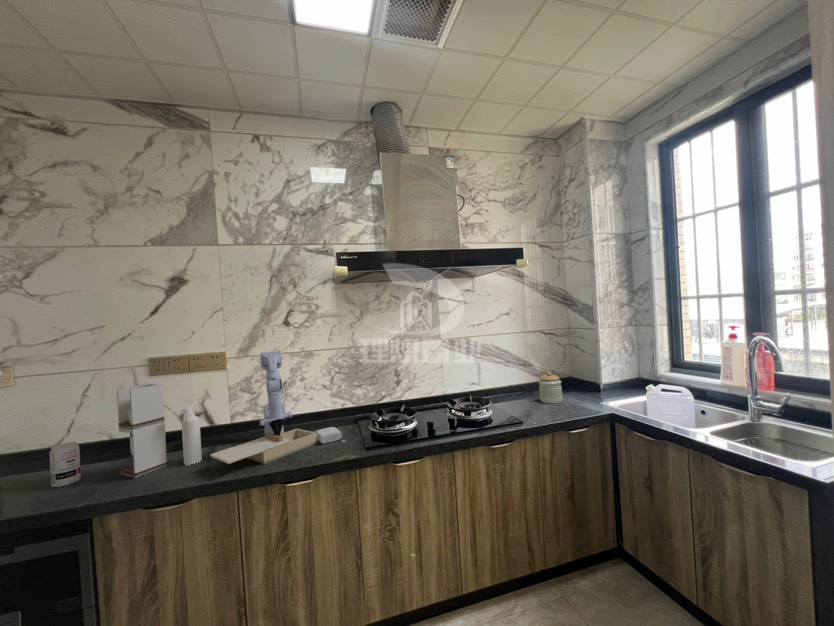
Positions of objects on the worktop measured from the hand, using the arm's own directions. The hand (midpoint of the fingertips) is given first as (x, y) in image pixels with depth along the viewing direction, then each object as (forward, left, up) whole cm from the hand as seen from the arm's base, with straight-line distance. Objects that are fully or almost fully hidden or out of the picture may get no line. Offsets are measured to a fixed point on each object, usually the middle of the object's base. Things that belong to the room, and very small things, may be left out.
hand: (277, 436), depth 154 cm
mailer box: (0, +2, -7) cm, 7 cm away
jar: (+82, +129, -7) cm, 153 cm away
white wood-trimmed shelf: (-34, -40, -7) cm, 53 cm away
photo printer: (+13, +19, -4) cm, 24 cm away
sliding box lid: (0, -12, -1) cm, 12 cm away
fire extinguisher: (-25, -25, -7) cm, 36 cm away
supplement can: (-50, -61, -7) cm, 79 cm away
